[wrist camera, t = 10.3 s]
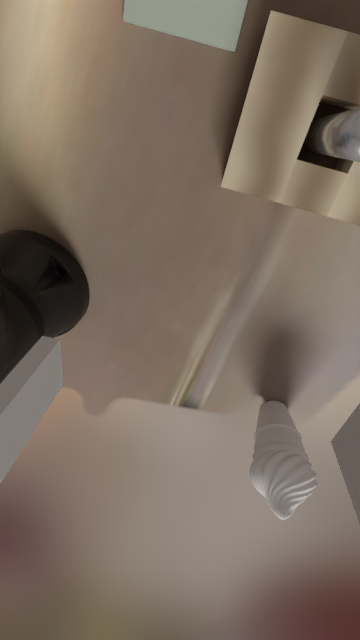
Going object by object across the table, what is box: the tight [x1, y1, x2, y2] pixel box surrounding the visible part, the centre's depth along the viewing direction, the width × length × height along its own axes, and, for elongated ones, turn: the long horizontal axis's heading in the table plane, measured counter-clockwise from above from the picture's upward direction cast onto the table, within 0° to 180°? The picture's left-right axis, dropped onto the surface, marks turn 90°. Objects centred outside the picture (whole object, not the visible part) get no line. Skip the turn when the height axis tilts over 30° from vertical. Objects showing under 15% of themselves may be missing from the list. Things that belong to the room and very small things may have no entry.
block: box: [221, 10, 360, 226], centre depth 26 cm, size 16×12×4 cm
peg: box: [306, 108, 360, 162], centre depth 23 cm, size 3×3×12 cm
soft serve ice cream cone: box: [250, 401, 317, 520], centre depth 41 cm, size 8×8×16 cm
